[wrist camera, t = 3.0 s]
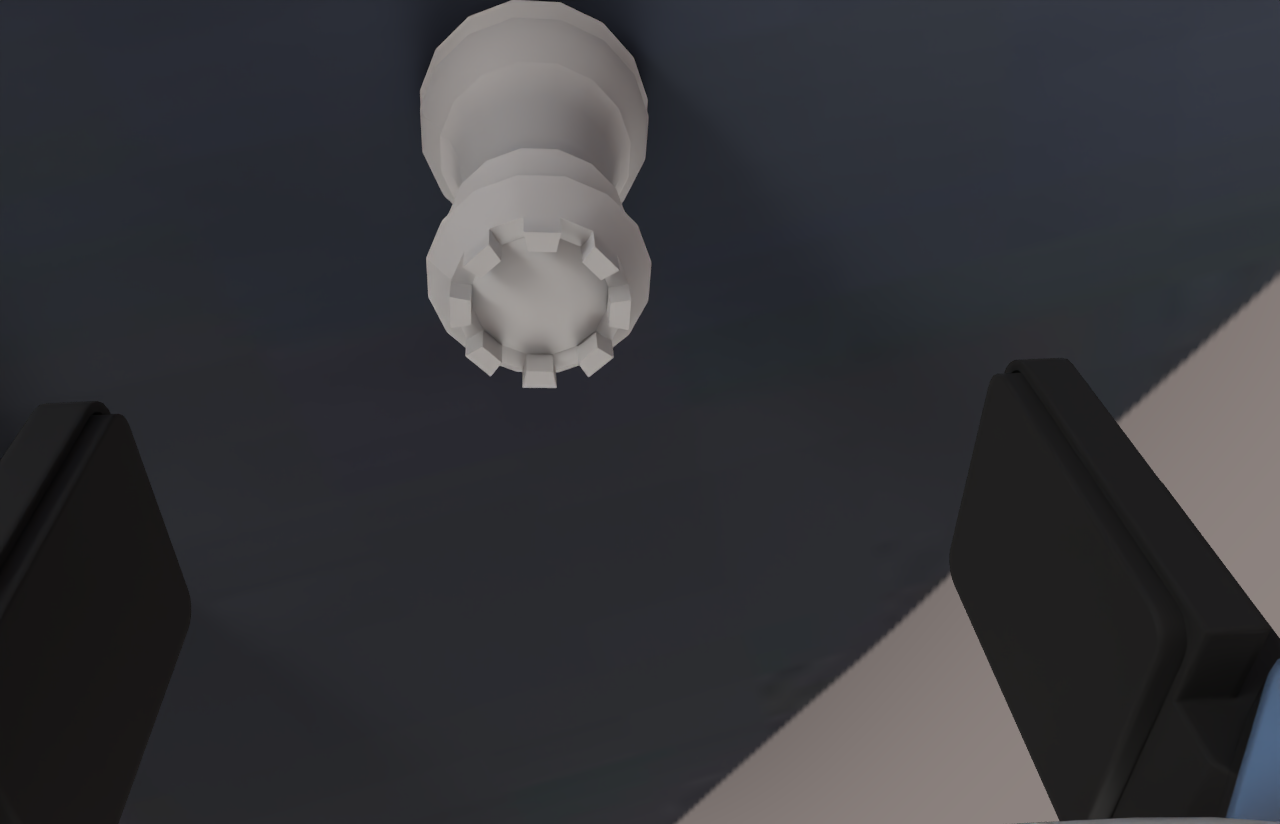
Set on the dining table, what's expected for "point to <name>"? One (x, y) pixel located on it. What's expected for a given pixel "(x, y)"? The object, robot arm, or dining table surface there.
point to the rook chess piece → (535, 189)
